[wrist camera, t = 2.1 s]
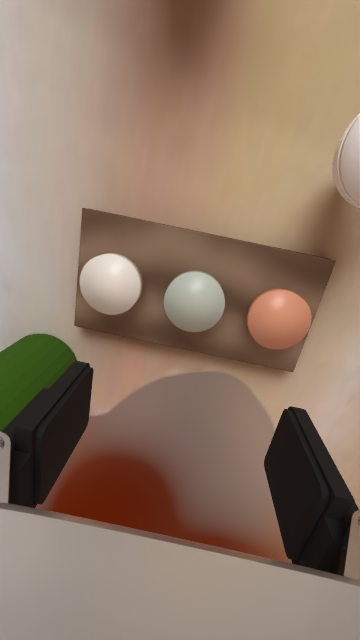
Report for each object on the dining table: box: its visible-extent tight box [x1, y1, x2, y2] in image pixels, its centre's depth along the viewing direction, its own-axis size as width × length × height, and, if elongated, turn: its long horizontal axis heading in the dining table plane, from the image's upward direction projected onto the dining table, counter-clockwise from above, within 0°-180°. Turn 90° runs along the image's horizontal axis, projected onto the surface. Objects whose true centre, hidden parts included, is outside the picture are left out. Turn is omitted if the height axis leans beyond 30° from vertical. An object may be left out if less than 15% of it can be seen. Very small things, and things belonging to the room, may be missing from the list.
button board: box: [74, 208, 336, 372], centre depth 31 cm, size 13×26×2 cm, turn 79°
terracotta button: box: [246, 288, 312, 349], centre depth 28 cm, size 6×6×2 cm
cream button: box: [79, 253, 143, 315], centre depth 28 cm, size 6×6×2 cm
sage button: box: [164, 270, 225, 332], centre depth 28 cm, size 6×6×2 cm
